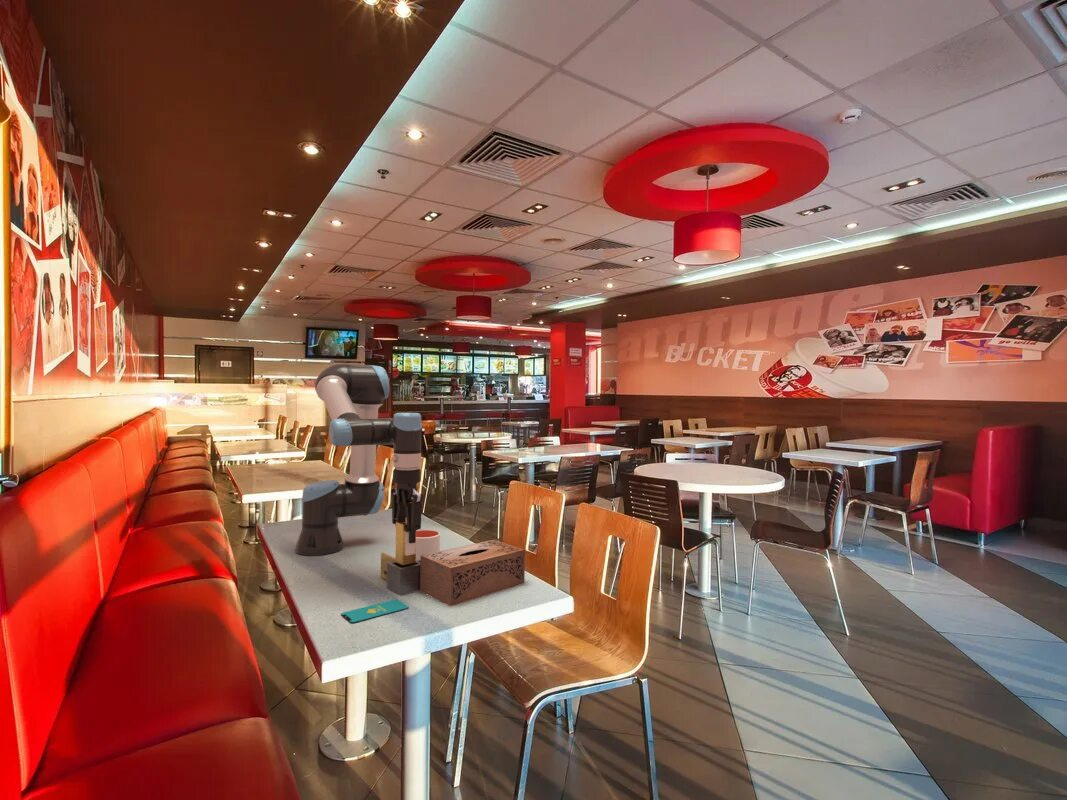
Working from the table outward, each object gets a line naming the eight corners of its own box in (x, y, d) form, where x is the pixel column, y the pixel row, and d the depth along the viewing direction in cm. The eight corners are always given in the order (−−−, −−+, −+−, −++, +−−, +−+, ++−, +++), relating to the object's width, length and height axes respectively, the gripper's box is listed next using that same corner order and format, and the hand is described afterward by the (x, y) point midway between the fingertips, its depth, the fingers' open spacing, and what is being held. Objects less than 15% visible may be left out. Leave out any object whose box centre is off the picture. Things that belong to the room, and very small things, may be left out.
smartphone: (410, 606, 133) (351, 622, 123) (409, 609, 133) (351, 625, 123) (396, 598, 138) (339, 613, 128) (396, 601, 138) (339, 616, 128)
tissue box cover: (492, 572, 163) (493, 539, 163) (524, 584, 152) (524, 549, 152) (419, 591, 145) (420, 555, 145) (450, 607, 135) (450, 567, 135)
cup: (432, 571, 162) (432, 538, 162) (401, 568, 164) (402, 536, 164) (444, 561, 171) (444, 531, 171) (415, 559, 173) (415, 529, 173)
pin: (395, 561, 146) (396, 522, 146) (408, 559, 149) (408, 520, 149) (402, 565, 143) (403, 524, 144) (415, 562, 146) (416, 522, 146)
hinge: (370, 579, 154) (370, 555, 154) (421, 567, 166) (422, 544, 166) (399, 595, 141) (400, 569, 141) (453, 581, 153) (453, 557, 153)
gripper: (380, 466, 150) (378, 548, 150) (410, 472, 138) (409, 562, 138) (403, 464, 155) (402, 543, 155) (435, 470, 143) (434, 556, 143)
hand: (405, 552), depth 146 cm, fingers closed on pin, 4 cm apart
